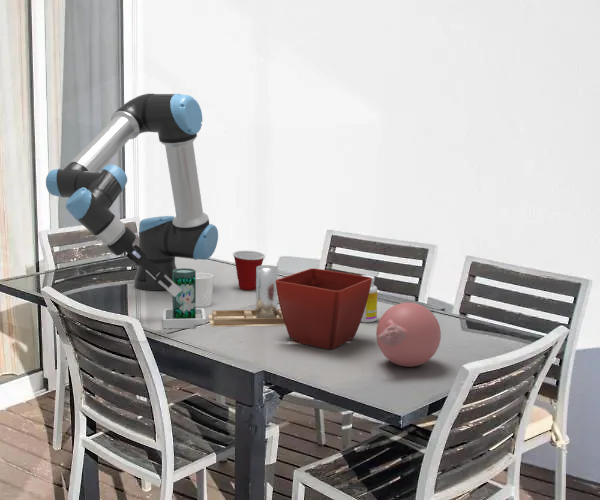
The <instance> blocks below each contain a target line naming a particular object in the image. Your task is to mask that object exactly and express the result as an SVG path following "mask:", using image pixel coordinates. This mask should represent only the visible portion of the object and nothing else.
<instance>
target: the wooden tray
mask: <svg viewBox="0 0 600 500" xmlns="http://www.w3.org/2000/svg"><path fill="white" fill-rule="evenodd" d="M208 319H209V325H210V328H219V327H220V328H221V327H222V328H227V327H228V328H230V327H268V326H269V327H271V326H272V327H273V326H276V327H277V326H281V327H282V326H283V327H284V326H286V325H285V322H284V319H283V316H282V312H281V308H279V309H278V308H277V318H256V309H231V310H230V309H226V310H225V309H224V310H223V309H222V310H220V309H219V310H215V309H214V310H211V313H210V314H208Z"/></svg>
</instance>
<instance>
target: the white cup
mask: <svg viewBox="0 0 600 500" xmlns="http://www.w3.org/2000/svg"><path fill="white" fill-rule="evenodd" d="M213 285H214V275H213V274H212V273H208V272H196V308H204V307H210V306H211V305H212V300H213V290H214V289H213Z"/></svg>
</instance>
